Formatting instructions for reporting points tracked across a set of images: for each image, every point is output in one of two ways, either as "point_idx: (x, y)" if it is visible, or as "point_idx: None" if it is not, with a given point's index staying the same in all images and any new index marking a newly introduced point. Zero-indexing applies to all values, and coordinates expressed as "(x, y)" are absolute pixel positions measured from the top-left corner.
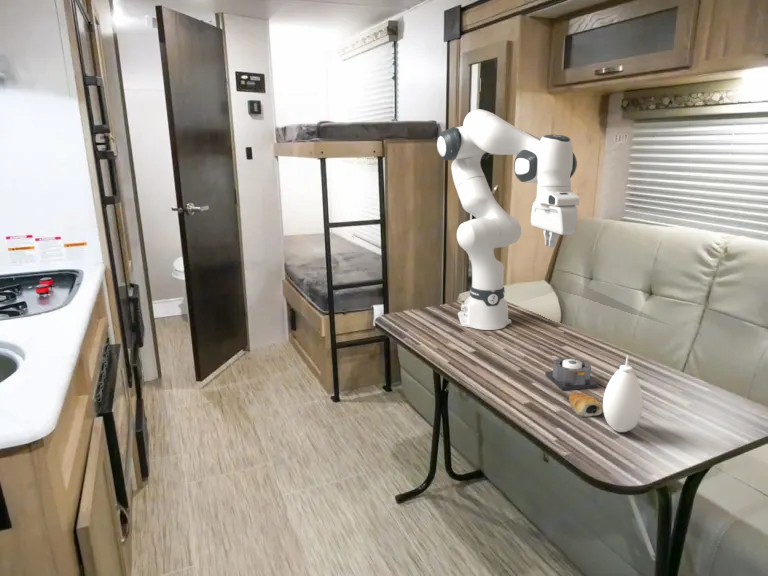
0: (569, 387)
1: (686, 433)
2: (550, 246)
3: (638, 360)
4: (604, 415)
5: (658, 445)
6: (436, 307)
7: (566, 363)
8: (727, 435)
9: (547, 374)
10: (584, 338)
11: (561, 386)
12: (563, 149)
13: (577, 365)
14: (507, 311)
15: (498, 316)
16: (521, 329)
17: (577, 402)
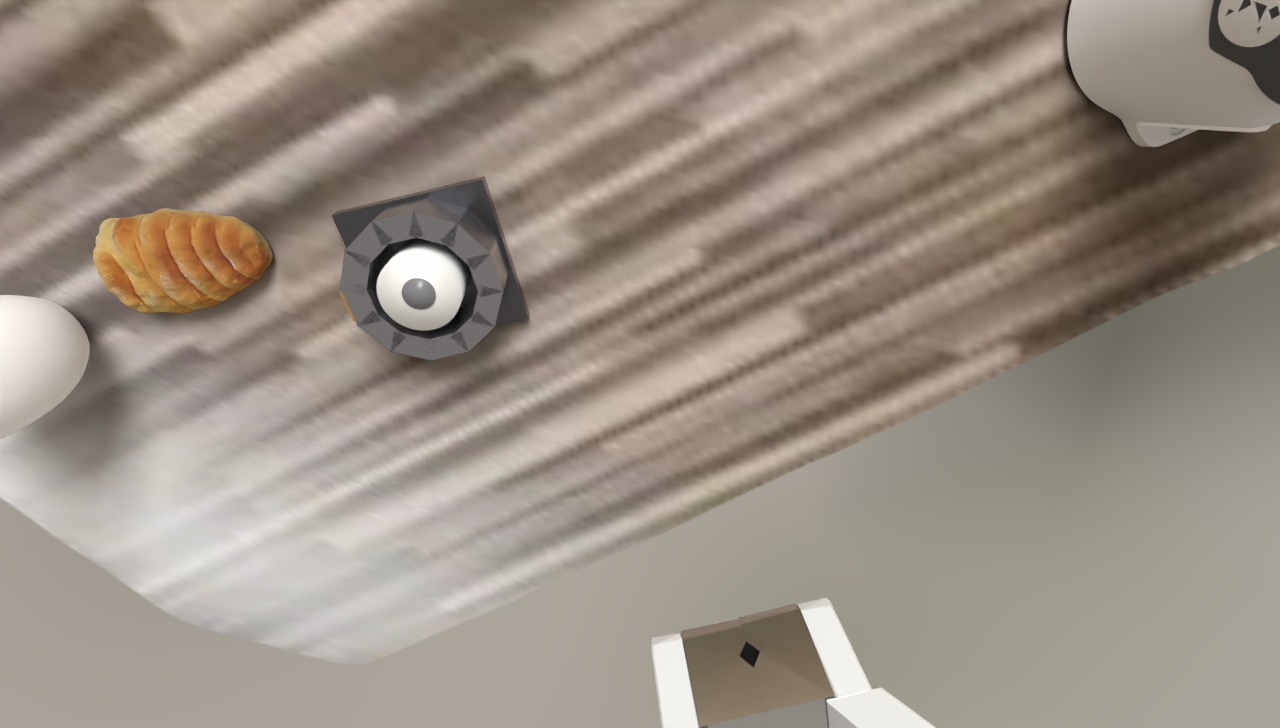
0: (346, 243)
1: (125, 488)
2: (653, 650)
3: (650, 515)
4: (6, 295)
5: None
6: None
7: (403, 266)
8: (156, 566)
9: (464, 183)
10: (870, 411)
11: (340, 212)
12: None
13: (389, 306)
14: (1193, 127)
15: (1139, 55)
16: (1037, 181)
17: (117, 230)
